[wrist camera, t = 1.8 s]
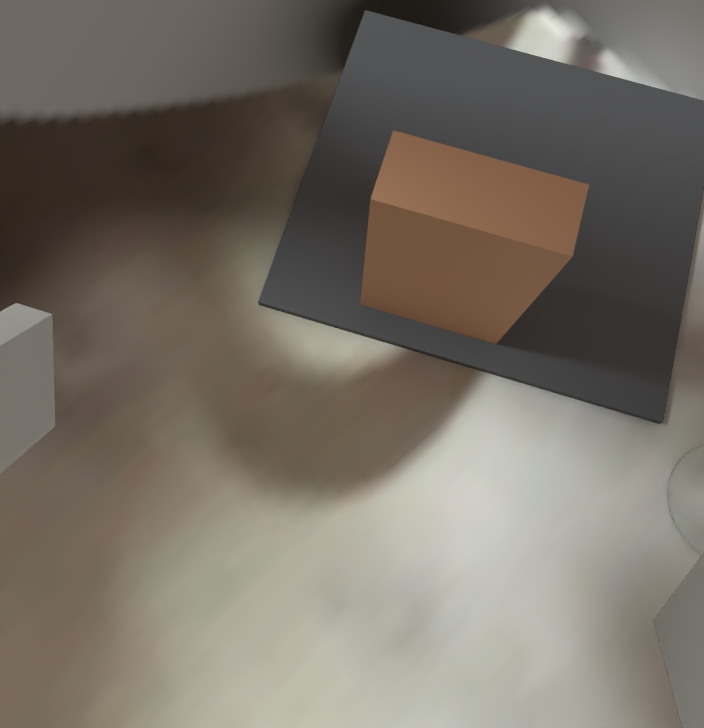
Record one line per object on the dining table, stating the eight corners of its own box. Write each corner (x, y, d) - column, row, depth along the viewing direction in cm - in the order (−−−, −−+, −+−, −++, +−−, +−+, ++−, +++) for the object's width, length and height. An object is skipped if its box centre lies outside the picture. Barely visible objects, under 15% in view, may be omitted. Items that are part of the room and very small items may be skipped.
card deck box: (360, 304, 33) (370, 199, 22) (375, 255, 33) (393, 130, 23) (495, 344, 32) (572, 256, 22) (508, 293, 33) (589, 184, 22)
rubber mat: (259, 304, 33) (258, 301, 33) (365, 15, 38) (365, 10, 38) (658, 423, 32) (662, 422, 31) (714, 108, 37) (718, 104, 36)
